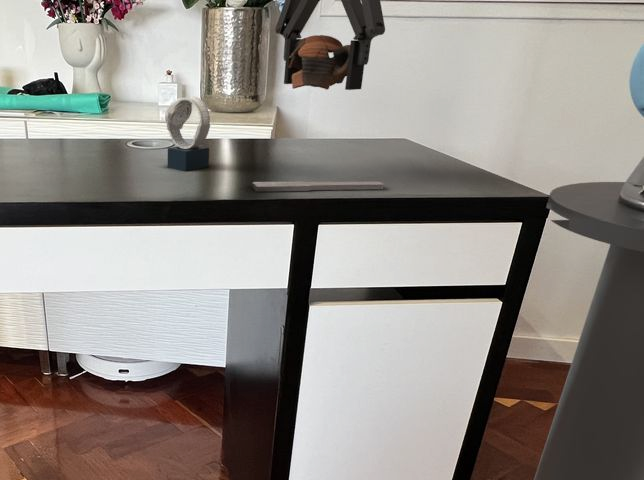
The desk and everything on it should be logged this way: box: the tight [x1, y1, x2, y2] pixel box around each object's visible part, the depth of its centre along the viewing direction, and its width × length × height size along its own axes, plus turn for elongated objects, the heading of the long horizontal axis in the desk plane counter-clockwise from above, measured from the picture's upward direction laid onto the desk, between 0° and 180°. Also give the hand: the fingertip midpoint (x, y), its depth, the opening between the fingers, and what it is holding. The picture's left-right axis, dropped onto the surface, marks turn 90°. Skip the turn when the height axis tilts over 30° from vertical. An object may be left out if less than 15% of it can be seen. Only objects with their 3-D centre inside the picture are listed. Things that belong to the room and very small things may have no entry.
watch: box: [164, 96, 211, 172], centre depth 105 cm, size 6×8×11 cm
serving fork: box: [252, 181, 385, 193], centre depth 93 cm, size 19×3×1 cm, turn 94°
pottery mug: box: [289, 34, 350, 91], centre depth 97 cm, size 12×10×8 cm
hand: (320, 86), depth 98 cm, fingers closed on pottery mug, 12 cm apart
